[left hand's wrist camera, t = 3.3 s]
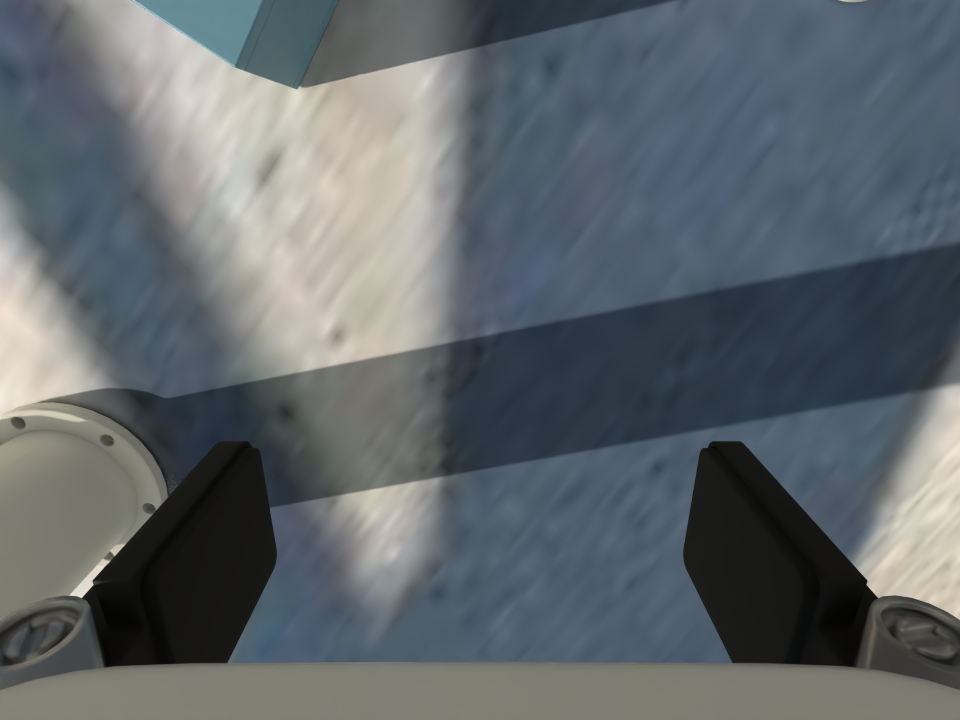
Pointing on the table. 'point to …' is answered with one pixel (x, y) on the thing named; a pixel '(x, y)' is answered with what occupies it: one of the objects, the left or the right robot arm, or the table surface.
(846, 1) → the coffee cup
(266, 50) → the blue drawer box
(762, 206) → the table surface
